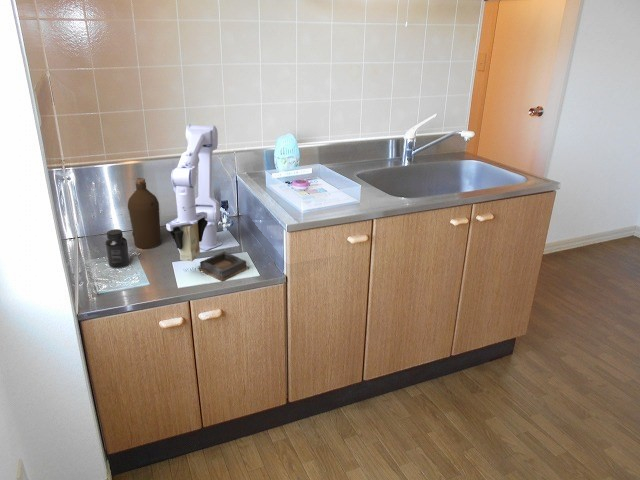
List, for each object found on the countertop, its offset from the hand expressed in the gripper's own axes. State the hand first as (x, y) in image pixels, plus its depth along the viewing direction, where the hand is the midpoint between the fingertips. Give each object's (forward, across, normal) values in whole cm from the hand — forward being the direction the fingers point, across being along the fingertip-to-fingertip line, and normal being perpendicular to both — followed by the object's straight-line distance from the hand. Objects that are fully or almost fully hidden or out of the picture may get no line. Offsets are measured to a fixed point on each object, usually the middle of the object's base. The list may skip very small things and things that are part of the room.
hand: (189, 244), depth 161 cm
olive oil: (+11, +3, +30) cm, 32 cm away
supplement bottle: (+11, -12, +23) cm, 28 cm away
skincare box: (+5, 0, 0) cm, 5 cm away
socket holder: (+10, +9, -6) cm, 15 cm away
